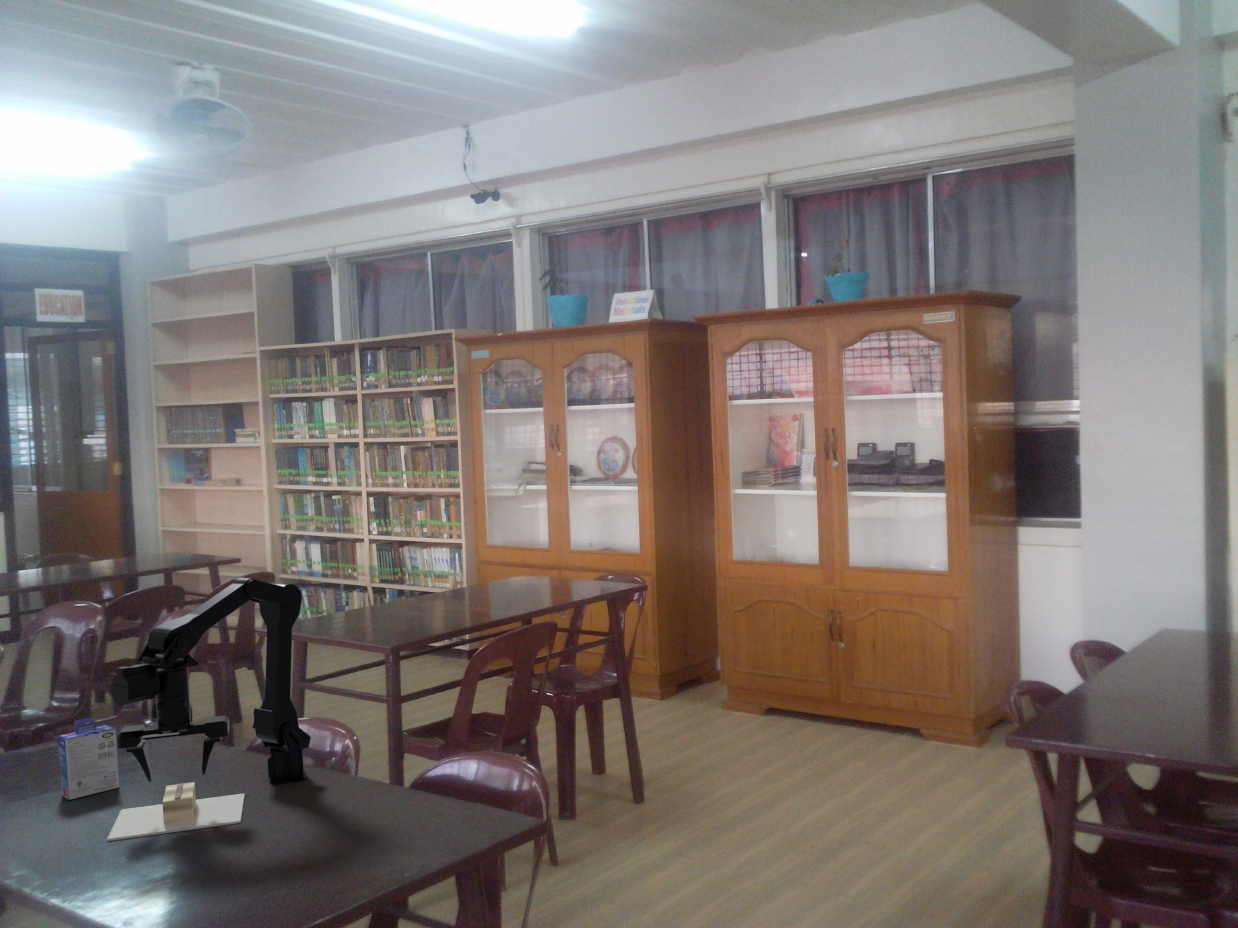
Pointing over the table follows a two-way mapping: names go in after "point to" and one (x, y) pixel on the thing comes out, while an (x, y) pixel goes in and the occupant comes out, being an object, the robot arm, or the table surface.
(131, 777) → the table surface
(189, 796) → the grooved beige block
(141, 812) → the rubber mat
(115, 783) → the ink cartridge box
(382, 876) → the table surface
